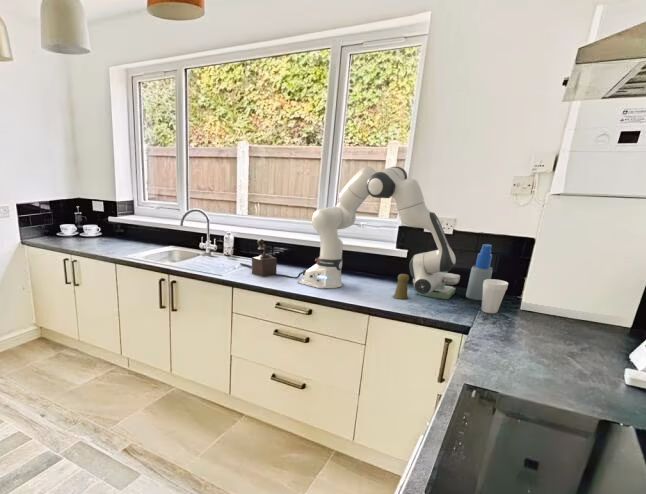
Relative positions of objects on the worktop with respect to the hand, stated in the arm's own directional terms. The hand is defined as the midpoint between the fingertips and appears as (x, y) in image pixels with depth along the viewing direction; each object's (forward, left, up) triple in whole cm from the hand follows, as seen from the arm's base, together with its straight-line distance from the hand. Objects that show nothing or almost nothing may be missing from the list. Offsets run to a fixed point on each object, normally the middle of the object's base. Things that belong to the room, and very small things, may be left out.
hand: (440, 273), depth 221 cm
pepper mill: (-92, -18, -10) cm, 94 cm away
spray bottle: (+17, +4, -10) cm, 20 cm away
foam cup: (+26, -14, -10) cm, 32 cm away
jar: (0, -1, -7) cm, 7 cm away
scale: (0, 0, -10) cm, 10 cm away
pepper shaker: (-12, -18, -10) cm, 23 cm away
